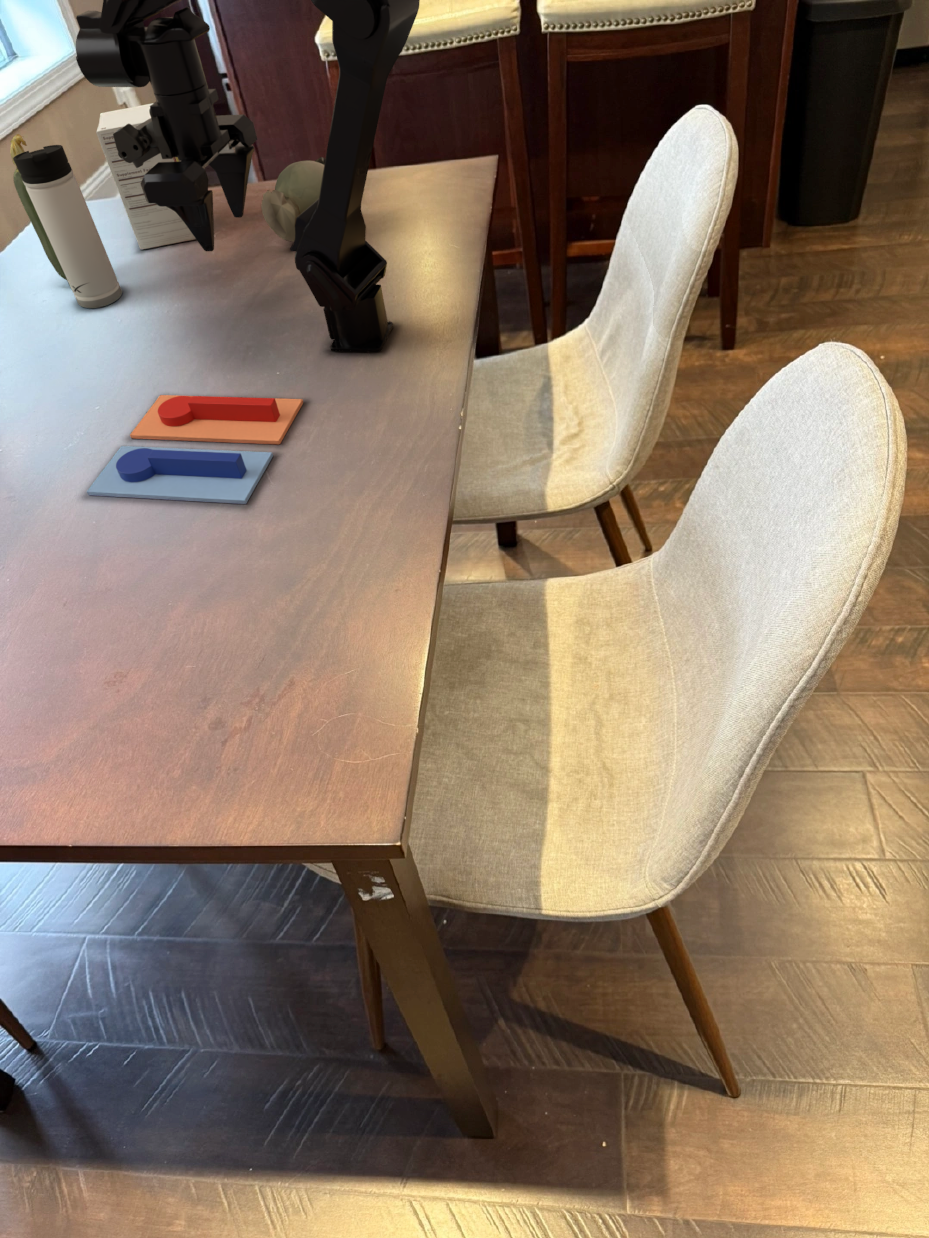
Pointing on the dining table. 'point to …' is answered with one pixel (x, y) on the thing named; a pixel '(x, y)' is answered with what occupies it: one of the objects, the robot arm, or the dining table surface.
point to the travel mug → (69, 225)
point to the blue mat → (184, 481)
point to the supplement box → (144, 217)
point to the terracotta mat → (219, 426)
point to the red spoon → (217, 409)
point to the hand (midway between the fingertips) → (224, 233)
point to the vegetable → (32, 207)
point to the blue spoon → (179, 464)
